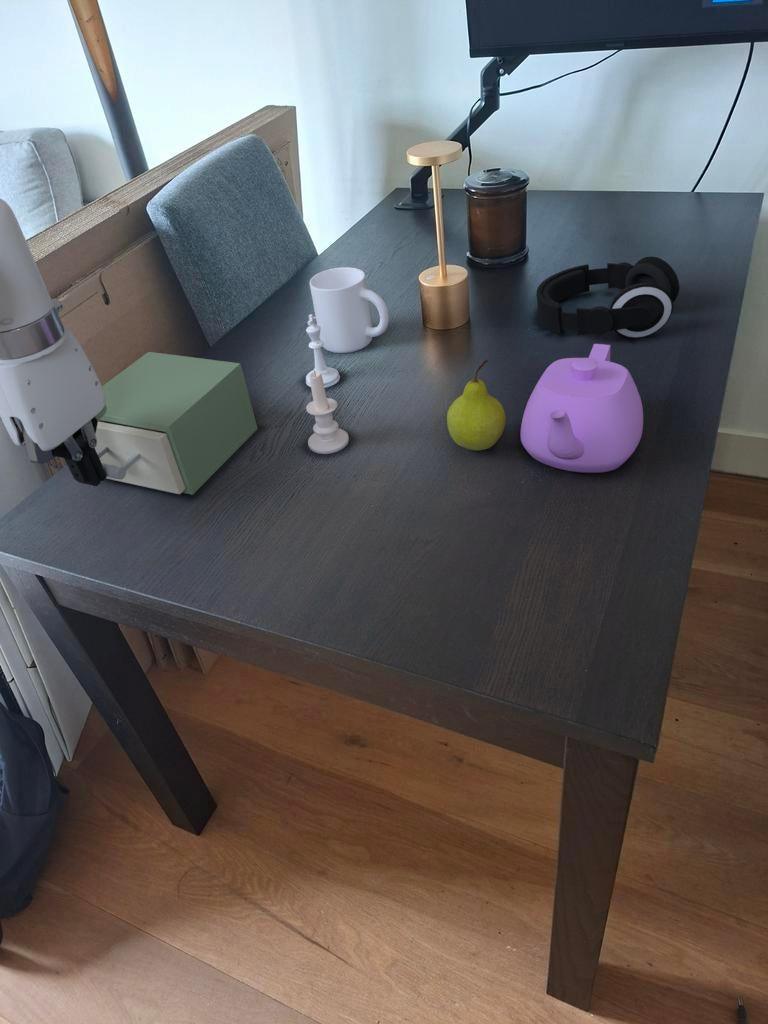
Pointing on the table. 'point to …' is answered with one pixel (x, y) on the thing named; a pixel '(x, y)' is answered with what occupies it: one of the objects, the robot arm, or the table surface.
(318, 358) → the chess piece
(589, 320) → the headphones
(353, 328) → the mug
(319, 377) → the candle
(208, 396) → the cabinet
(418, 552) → the table surface
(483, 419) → the fruit
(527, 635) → the table surface
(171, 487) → the drawer
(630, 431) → the teapot
